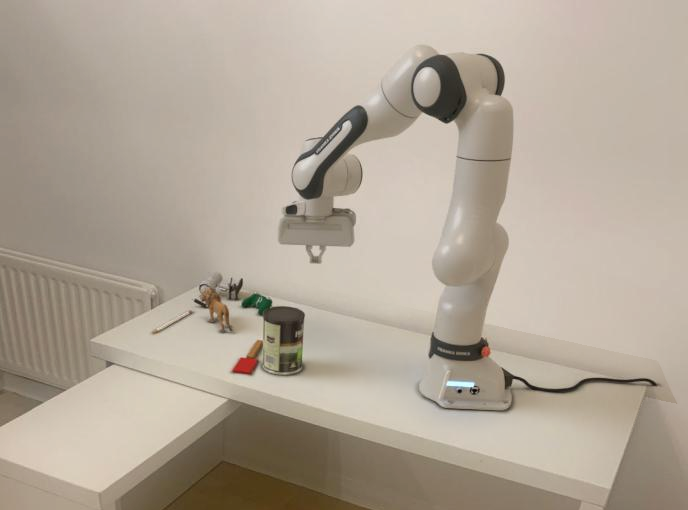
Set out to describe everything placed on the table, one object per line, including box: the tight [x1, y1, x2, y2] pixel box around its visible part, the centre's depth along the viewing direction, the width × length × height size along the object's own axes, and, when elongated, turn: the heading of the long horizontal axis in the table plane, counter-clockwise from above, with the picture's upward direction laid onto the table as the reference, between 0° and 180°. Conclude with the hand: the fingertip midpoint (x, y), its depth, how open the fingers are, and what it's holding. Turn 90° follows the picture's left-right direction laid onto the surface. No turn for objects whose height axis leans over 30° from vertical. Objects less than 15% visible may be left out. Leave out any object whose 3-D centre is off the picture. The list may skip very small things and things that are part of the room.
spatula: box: [232, 339, 263, 375], centre depth 194 cm, size 4×19×1 cm, turn 169°
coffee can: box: [261, 305, 306, 376], centre depth 187 cm, size 10×10×14 cm
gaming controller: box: [240, 290, 273, 316], centre depth 222 cm, size 9×4×6 cm
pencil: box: [153, 310, 192, 334], centre depth 211 cm, size 1×19×1 cm, turn 154°
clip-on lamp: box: [191, 271, 244, 308], centre depth 226 cm, size 12×6×18 cm
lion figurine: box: [198, 287, 234, 333], centre depth 209 cm, size 15×5×9 cm, turn 37°
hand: (315, 263), depth 199 cm, fingers closed
